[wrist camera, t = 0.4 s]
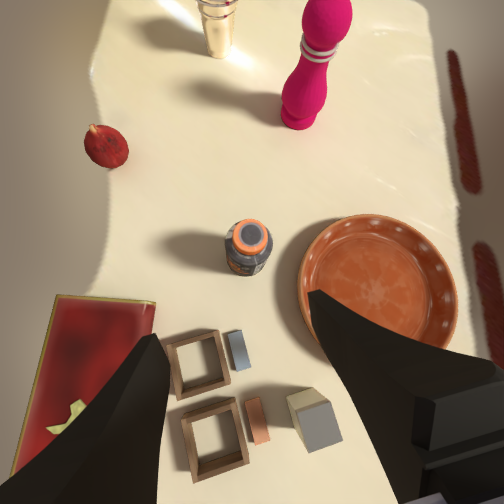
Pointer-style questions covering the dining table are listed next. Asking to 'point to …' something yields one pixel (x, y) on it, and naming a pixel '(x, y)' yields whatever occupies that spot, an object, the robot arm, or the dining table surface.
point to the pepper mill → (314, 60)
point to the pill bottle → (248, 247)
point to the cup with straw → (217, 25)
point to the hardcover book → (78, 363)
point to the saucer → (382, 277)
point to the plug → (314, 419)
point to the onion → (106, 146)
